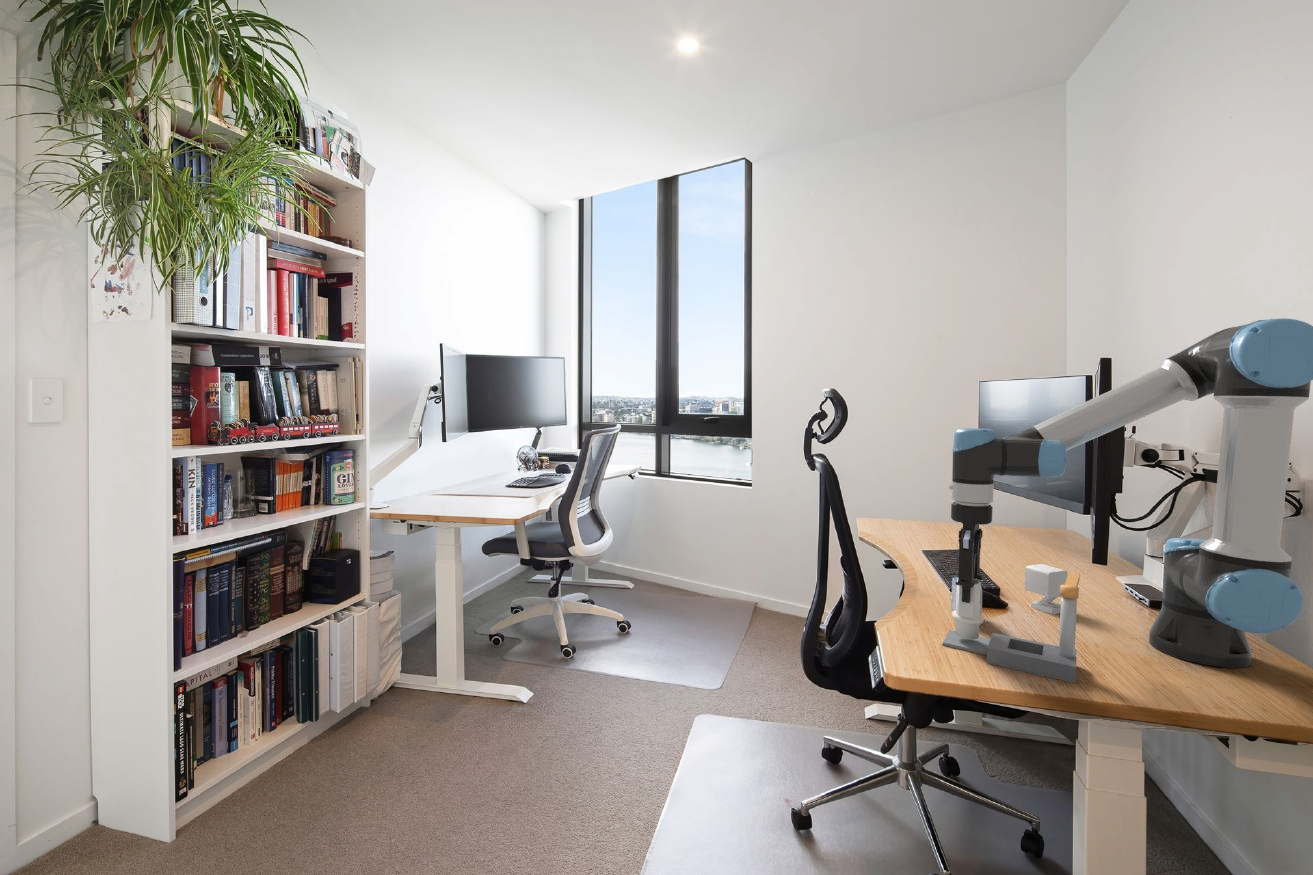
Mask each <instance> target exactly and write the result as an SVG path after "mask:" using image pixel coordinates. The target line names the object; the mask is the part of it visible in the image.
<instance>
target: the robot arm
mask: <svg viewBox="0 0 1313 875" xmlns="http://www.w3.org/2000/svg"><path fill="white" fill-rule="evenodd" d="M1312 381H1313V325H1312V324H1310V323H1307V322H1306V321H1302V320H1298V319H1293V318H1284V317H1283V318H1269V319H1258V320H1254V321H1252V322H1250V323H1247V324H1246V323H1245V324H1243V325H1237V326H1232V327H1229V328H1228V327H1227V328H1224V329H1222V330H1219V331H1216V332H1214V333H1212V334H1211V335H1208V336H1207V337H1205V338H1203V339H1201V340H1199V341H1198V342H1196V343H1194V344H1193V345H1190V346H1189V347H1187V348H1185V349H1183V350H1181V351H1179V352H1177V353H1175V354H1174V355H1171V356H1169V357H1168V358H1165V359H1163V360H1162V361H1161V363H1160V365H1159V367H1158V368H1156V369H1154V370H1152V371H1149V372H1147V373H1144V374H1143V375H1141V376H1139V377H1136V378H1135V379H1132V380H1130V381H1128V382H1125V383H1124V384H1122V385H1119V386H1117V387H1115V388H1112V389H1111V390H1108V391H1107V392H1104V393H1102V394H1100V395H1097V396H1096V397H1094V398H1091V399H1089V400H1087V401H1085V402H1082V403H1081V404H1079V405H1076V406H1074V407H1072V408H1069V409H1067V410H1065V411H1064V412H1061V413H1059V414H1057V415H1055V416H1053V417H1051V418H1049V419H1046V420H1044V421H1042V422H1040V423H1038V424H1036V425H1033V426H1031V427H1030V428H1026V429H1025V430H1023V431H1020V432H1019V433H1018V432H1017V433H1015V434H1010V435H1008V436H1005V437H1003V438H1000V437H999V438H998V437H997V436H996V431H995V430H994V429H993V428H978V427H977V428H975V427H974V428H971V427H968V428H967V427H964V428H963V427H962V428H959V429H957V430H955V432H954V436H953V448H952V470H951V471H952V472H951V473H952V477H951V480H952V483H951V484H950V485H949V486H948V489H949V490H951V491H952V492H951V499H952V501H953V502H952V503H951V504H950V505H951V506H950V518H951V520H952V521H954V522H956V523H961V524H962V528H960V530H959V531H958V582H955V584H956V585H959V615H958V616H962V617H967V618H972V619H973V618H974V596H975V586H974V578H977V579H979V581H983V575H979V574H980V573H981V570H980V569H981V568H980V567H981V563H980V562H981V548H982V539H983V530H982V528H980V525H981V526H983V525H989V524H991V523H992V522H993V506H992V504H993V502H994V489H995V488H994V485H995V483H994V478H995V476H1008V477H1009V476H1011V477H1012V476H1013V477H1027V478H1028V477H1029V478H1040V479H1046V478H1056V479H1057V478H1061V477H1062V476H1063V475H1064V474H1065V472H1066V469H1067V461H1068V460H1067V458H1068V453H1067V452H1068V451H1069V450H1072V449H1074V448H1077V447H1078V446H1081V445H1083V444H1085V443H1088V442H1090V441H1091V440H1094V439H1096V438H1099V437H1101V436H1104V435H1106V434H1108V433H1111V432H1113V431H1115V430H1117V429H1119V428H1121V427H1124V426H1126V425H1129V424H1131V423H1133V422H1136V421H1138V420H1140V419H1142V418H1145V417H1146V416H1149V415H1152V414H1154V413H1157V412H1158V411H1161V410H1163V409H1166V408H1168V407H1170V406H1173V405H1175V404H1177V403H1179V402H1181V401H1189V402H1194V401H1197V400H1200V399H1201V398H1203V397H1206V396H1208V395H1212V394H1213V399H1214V400H1215V401H1216V402H1218V403H1219V404H1220V405H1222V407H1223V415H1222V416H1223V417H1222V427H1221V435H1220V436H1221V437H1220V447H1219V455H1218V456H1219V459H1218V469H1217V480H1216V491H1215V500H1214V501H1215V502H1214V509H1213V520H1212V521H1213V522H1212V533H1211V537H1210V538H1209V539H1201V538H1189V537H1188V538H1187V537H1172V538H1169V539H1167V541H1166V542H1165V548H1164V550H1163V553H1162V554H1163V577H1162V579H1163V580H1162V602H1161V609H1160V611H1159V612H1158V614H1157V616H1156V618H1155V619H1154V622H1153V624H1152V626H1151V627H1150V630H1149V634H1148V635H1149V638H1148V641H1149V644H1150V645H1151V646H1152V647H1154V648H1155V649H1156V650H1158V651H1161V652H1162V653H1164V654H1167V655H1170V656H1173V657H1175V658H1178V659H1180V660H1185V661H1188V662H1191V663H1195V664H1196V663H1197V664H1200V665H1205V666H1211V667H1217V668H1218V667H1219V668H1226V669H1227V668H1229V669H1230V668H1231V669H1239V668H1240V669H1242V668H1247V667H1249V666H1251V665H1252V659H1253V658H1252V655H1253V652H1252V649H1251V647H1250V644H1249V641H1248V638H1247V635H1246V633H1252V634H1268V633H1269V634H1270V633H1274V632H1278V631H1281V630H1283V629H1284V628H1286V627H1289V626H1291V625H1292V624H1294V623H1295V622H1296V621H1297V620H1298V619H1299V618H1300V616H1301V614H1302V613H1303V609H1304V603H1305V602H1304V597H1303V592H1302V591H1301V590H1300V588H1299V587H1298V585H1296V583H1295V582H1294V581H1293V580H1292V579H1291V573H1292V560H1293V559H1292V558H1293V557H1292V556H1290V554H1288V553H1287V552H1286V551H1285V550H1283V549H1282V547H1281V542H1282V541H1281V540H1282V531H1283V530H1282V529H1283V520H1284V519H1283V518H1284V512H1285V502H1286V501H1285V500H1286V492H1287V491H1286V490H1287V482H1288V472H1289V461H1290V453H1291V443H1292V432H1293V426H1294V425H1293V423H1294V415H1295V410H1296V408H1298V407H1299V406H1301V405H1302V404H1304V403H1305V402H1307V401H1308V400H1309V399H1310V391H1311V384H1312ZM991 503H992V504H991ZM1245 632H1246V633H1245Z"/></svg>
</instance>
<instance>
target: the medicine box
mask: <svg viewBox="0 0 1313 875" xmlns="http://www.w3.org/2000/svg"><path fill="white" fill-rule="evenodd" d="M957 579H958V577H957V576H956V577H952V579H951V605H950V606H951V608H950V609H951V611H950V612H951V613H952V612H953V611H955V610H956V595H957V585H956V584H955V582H957ZM980 614H981V615H982V616H983V588H982V587H981V595H980ZM980 625H982V624H979V626H980Z"/></svg>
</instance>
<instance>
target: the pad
mask: <svg viewBox="0 0 1313 875" xmlns="http://www.w3.org/2000/svg"><path fill="white" fill-rule="evenodd" d="M990 639H991V638H989V637H984V636H980V635H979V638H978V639H966V638H962V637H959V636H957V635H956V634H955V631H954V630H949V631H948V633H947V634H946V636H945V637H944V639H943V641H942V646H945V647H949V648H953V649H959V650H962V651H967V652H972V653H976V654H981V655H984V656H987V647H988V645H989V642H990Z"/></svg>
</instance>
